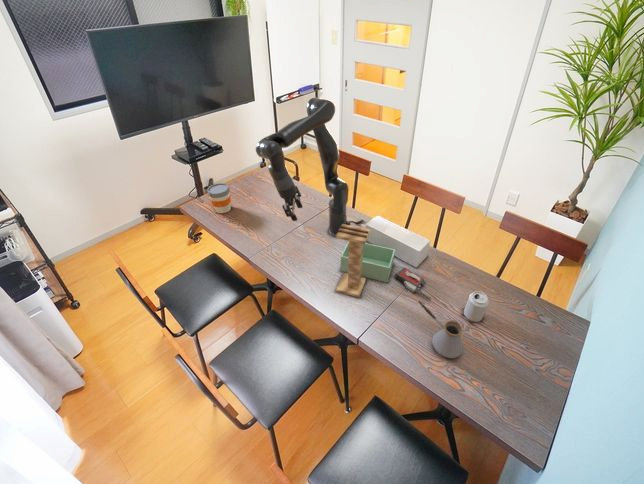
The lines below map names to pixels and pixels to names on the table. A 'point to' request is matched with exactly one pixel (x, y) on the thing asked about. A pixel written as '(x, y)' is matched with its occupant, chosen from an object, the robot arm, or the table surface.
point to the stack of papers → (398, 240)
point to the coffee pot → (447, 338)
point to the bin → (372, 261)
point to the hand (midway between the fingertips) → (297, 213)
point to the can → (476, 306)
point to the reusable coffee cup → (220, 197)
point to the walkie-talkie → (411, 281)
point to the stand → (353, 259)
